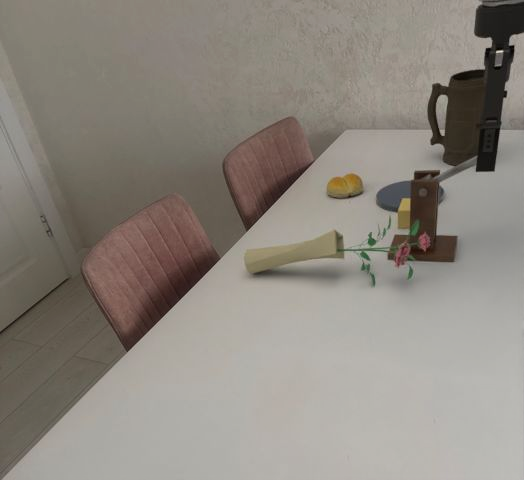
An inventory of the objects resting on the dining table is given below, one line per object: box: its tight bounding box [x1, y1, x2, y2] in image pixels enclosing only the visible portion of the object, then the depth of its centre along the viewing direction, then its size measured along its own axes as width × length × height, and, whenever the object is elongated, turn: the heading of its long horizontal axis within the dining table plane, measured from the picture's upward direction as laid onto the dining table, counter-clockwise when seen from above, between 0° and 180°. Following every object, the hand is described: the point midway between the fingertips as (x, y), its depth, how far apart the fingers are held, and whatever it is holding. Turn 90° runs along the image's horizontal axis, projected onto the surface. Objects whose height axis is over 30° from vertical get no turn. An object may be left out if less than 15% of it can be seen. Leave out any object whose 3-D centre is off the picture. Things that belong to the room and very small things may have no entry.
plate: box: [375, 179, 445, 213], centre depth 115 cm, size 15×15×1 cm
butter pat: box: [397, 198, 410, 229], centre depth 106 cm, size 6×4×4 cm
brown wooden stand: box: [387, 169, 459, 263], centre depth 92 cm, size 12×8×15 cm, turn 69°
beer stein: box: [426, 68, 486, 166], centre depth 123 cm, size 15×11×20 cm
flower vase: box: [243, 216, 430, 287], centre depth 92 cm, size 12×12×35 cm
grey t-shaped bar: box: [421, 156, 477, 184], centre depth 86 cm, size 13×5×2 cm, turn 69°
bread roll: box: [325, 173, 364, 199], centre depth 123 cm, size 8×9×4 cm
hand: (486, 155), depth 82 cm, fingers open, 13 cm apart
